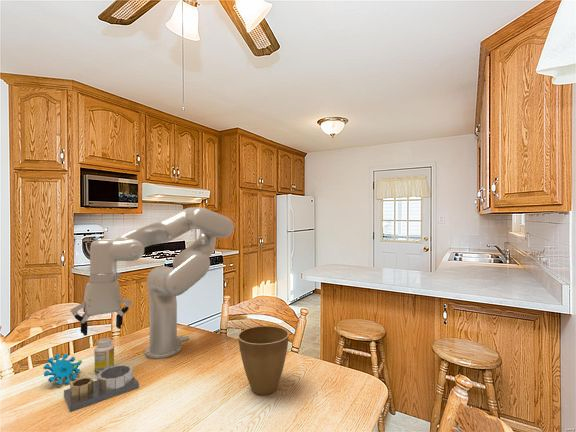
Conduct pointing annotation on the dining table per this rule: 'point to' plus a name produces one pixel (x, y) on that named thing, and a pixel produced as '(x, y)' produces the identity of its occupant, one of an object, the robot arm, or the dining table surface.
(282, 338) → the plant pot
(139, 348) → the dining table surface
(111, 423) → the dining table surface
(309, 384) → the dining table surface
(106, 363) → the supplement bottle
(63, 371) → the blue virus model
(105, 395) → the fitting plate
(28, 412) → the dining table surface
